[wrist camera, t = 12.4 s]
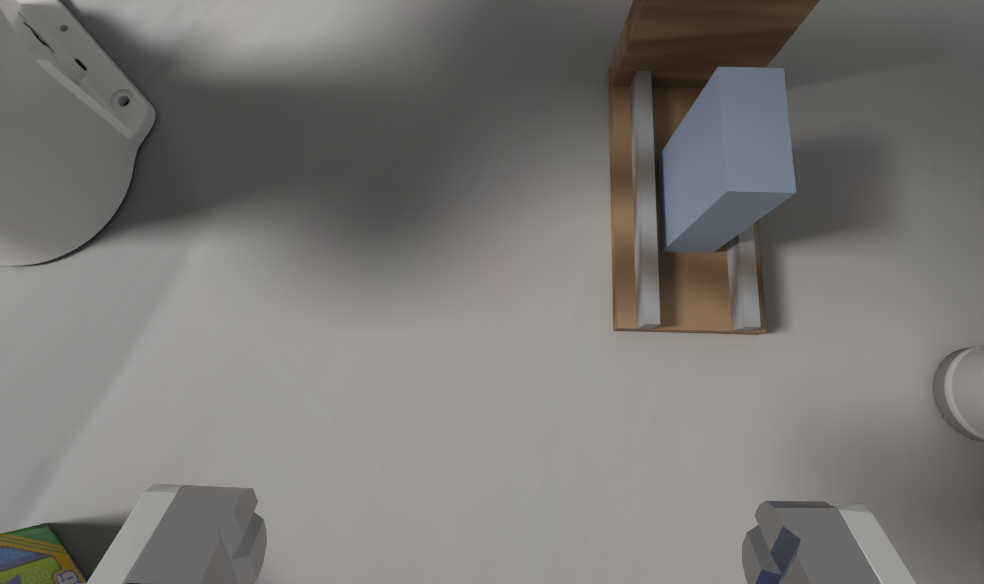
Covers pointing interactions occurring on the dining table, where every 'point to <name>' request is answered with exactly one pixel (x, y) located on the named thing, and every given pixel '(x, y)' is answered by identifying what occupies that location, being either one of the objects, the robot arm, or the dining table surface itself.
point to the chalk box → (36, 558)
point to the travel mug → (962, 391)
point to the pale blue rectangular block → (726, 160)
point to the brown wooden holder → (642, 137)
